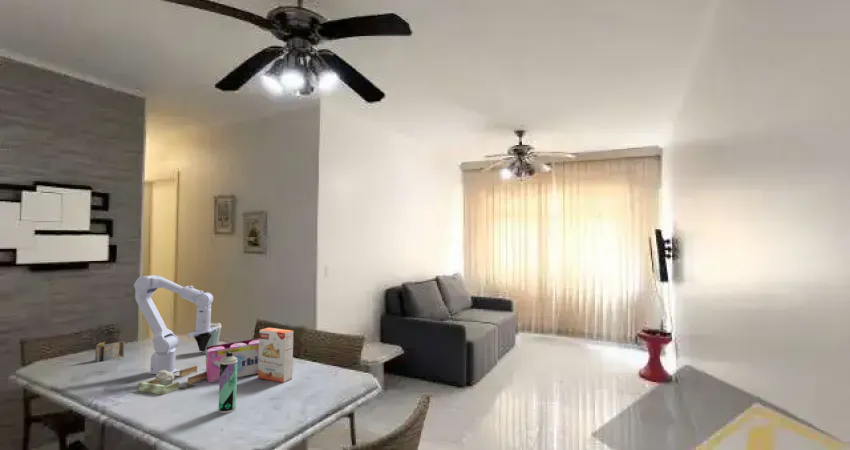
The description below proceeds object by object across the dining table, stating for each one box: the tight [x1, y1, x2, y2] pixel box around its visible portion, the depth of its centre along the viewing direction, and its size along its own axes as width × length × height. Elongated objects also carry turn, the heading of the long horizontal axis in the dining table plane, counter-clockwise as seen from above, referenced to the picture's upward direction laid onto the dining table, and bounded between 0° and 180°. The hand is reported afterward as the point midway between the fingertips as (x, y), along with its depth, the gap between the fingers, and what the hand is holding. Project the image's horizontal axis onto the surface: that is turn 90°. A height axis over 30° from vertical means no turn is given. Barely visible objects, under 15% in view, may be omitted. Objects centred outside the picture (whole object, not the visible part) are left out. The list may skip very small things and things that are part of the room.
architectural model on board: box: [94, 341, 126, 363], centre depth 200 cm, size 11×3×10 cm, turn 155°
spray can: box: [217, 351, 238, 414], centre depth 143 cm, size 6×6×20 cm
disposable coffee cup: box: [201, 322, 223, 355], centre depth 216 cm, size 11×11×15 cm
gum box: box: [205, 337, 259, 383], centre depth 180 cm, size 24×8×14 cm, turn 123°
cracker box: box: [257, 327, 295, 384], centre depth 176 cm, size 14×6×21 cm, turn 68°
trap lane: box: [138, 365, 207, 395], centre depth 170 cm, size 18×26×3 cm
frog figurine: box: [154, 370, 175, 386], centre depth 163 cm, size 6×7×7 cm
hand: (202, 350), depth 183 cm, fingers closed
